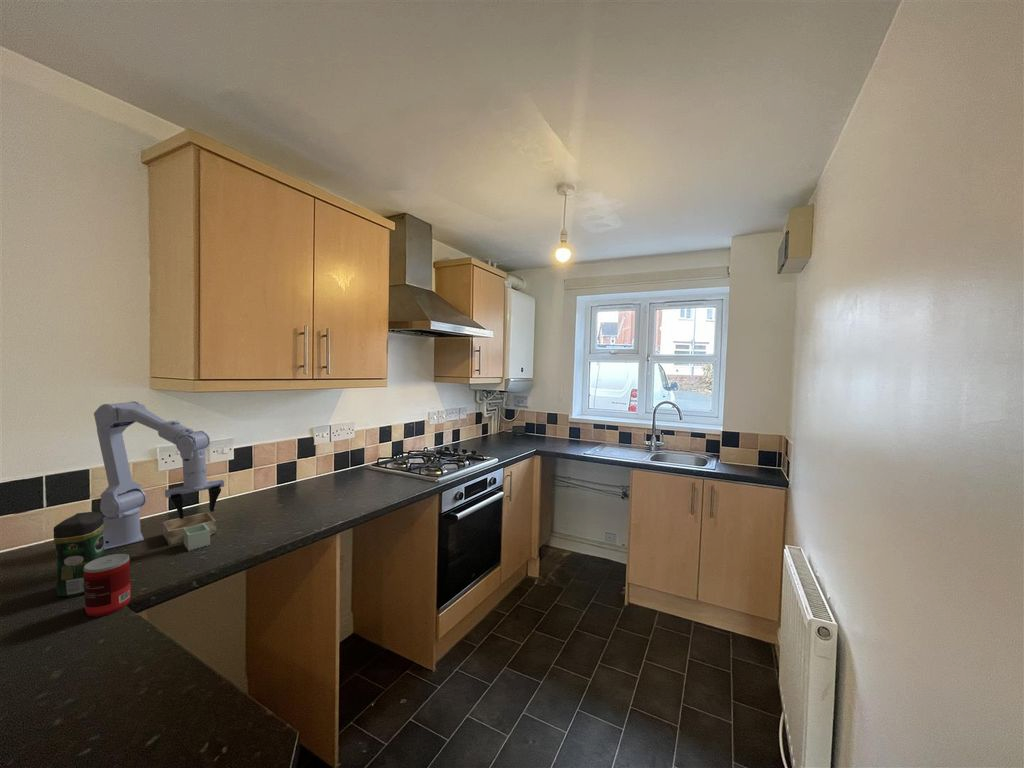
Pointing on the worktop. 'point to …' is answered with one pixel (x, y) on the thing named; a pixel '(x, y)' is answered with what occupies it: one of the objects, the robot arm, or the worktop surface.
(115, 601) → the canned food
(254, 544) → the worktop surface
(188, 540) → the box
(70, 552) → the coffee jar
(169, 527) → the box
